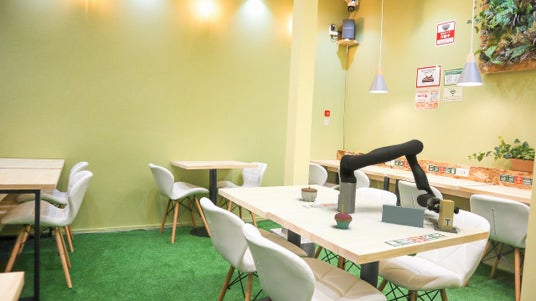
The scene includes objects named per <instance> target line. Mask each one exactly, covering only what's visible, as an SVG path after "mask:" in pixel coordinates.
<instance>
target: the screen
mask: <svg viewBox="0 0 536 301" xmlns="http://www.w3.org/2000/svg"><path fill="white" fill-rule="evenodd" d="M381 211H382V212H381V222H382V223H387V224H395V225H401V226H408V227H414V228H415V227H417V228H420V229H421V228H423V229H424V223H425V222H424V221H425V212H426V211H425V208H418V207H417V208H416V207H408V206H399V205H393V204H382V210H381Z"/></svg>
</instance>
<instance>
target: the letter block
mask: <svg viewBox="0 0 536 301" xmlns="http://www.w3.org/2000/svg"><path fill="white" fill-rule="evenodd" d="M439 199H440V212H439V214H438V224H437V225H438V227H439V228H440V229H443V230H452V228H454V227H453V226H454V214H455V213H454V206H455V203H456V202H455V201H453V200H451V199H441V198H439Z"/></svg>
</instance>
